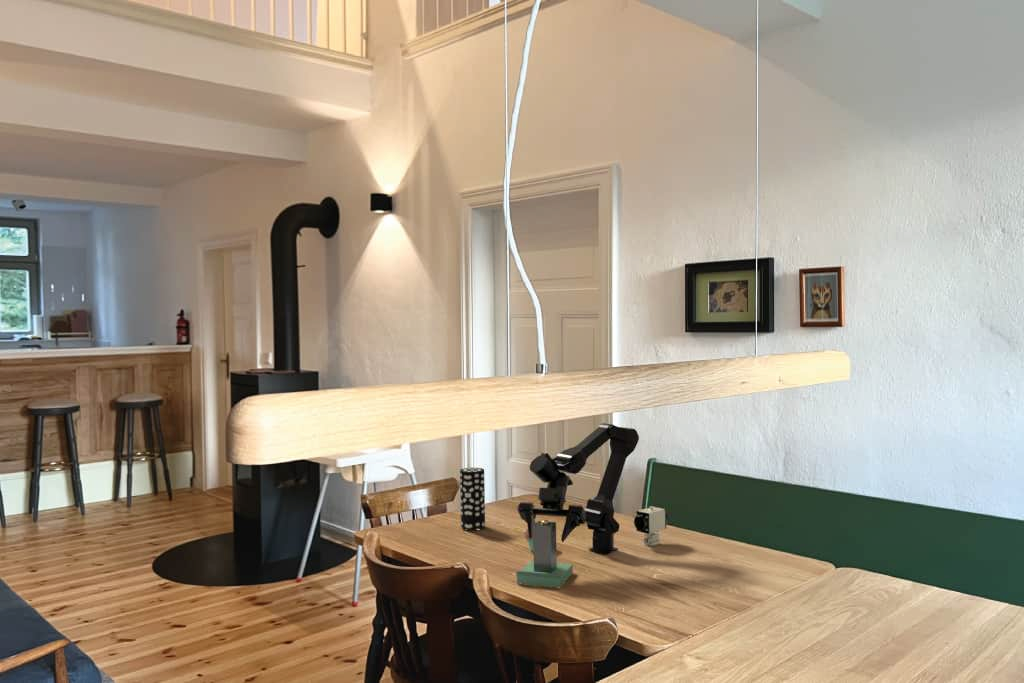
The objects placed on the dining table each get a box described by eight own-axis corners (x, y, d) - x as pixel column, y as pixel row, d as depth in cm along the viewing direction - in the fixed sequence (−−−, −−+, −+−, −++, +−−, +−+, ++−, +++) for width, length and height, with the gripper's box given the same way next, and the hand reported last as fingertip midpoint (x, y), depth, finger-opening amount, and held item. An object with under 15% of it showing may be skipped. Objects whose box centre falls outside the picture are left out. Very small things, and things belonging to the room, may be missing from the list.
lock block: (539, 565, 214) (538, 518, 213) (556, 567, 212) (555, 519, 212) (533, 571, 209) (533, 522, 209) (551, 573, 207) (550, 523, 207)
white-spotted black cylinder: (457, 526, 267) (456, 469, 266) (479, 523, 270) (478, 466, 270) (466, 532, 259) (465, 473, 259) (489, 529, 263) (487, 470, 262)
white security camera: (669, 542, 243) (669, 504, 243) (645, 550, 235) (644, 510, 235) (655, 539, 247) (655, 501, 247) (631, 546, 240) (631, 507, 239)
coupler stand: (531, 569, 219) (531, 557, 219) (572, 573, 215) (572, 560, 215) (516, 583, 206) (516, 571, 206) (560, 588, 202) (559, 575, 202)
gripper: (518, 473, 219) (506, 522, 209) (582, 476, 213) (573, 526, 202) (527, 495, 226) (516, 543, 216) (589, 498, 220) (581, 548, 210)
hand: (546, 539), depth 211 cm, fingers open, 9 cm apart
